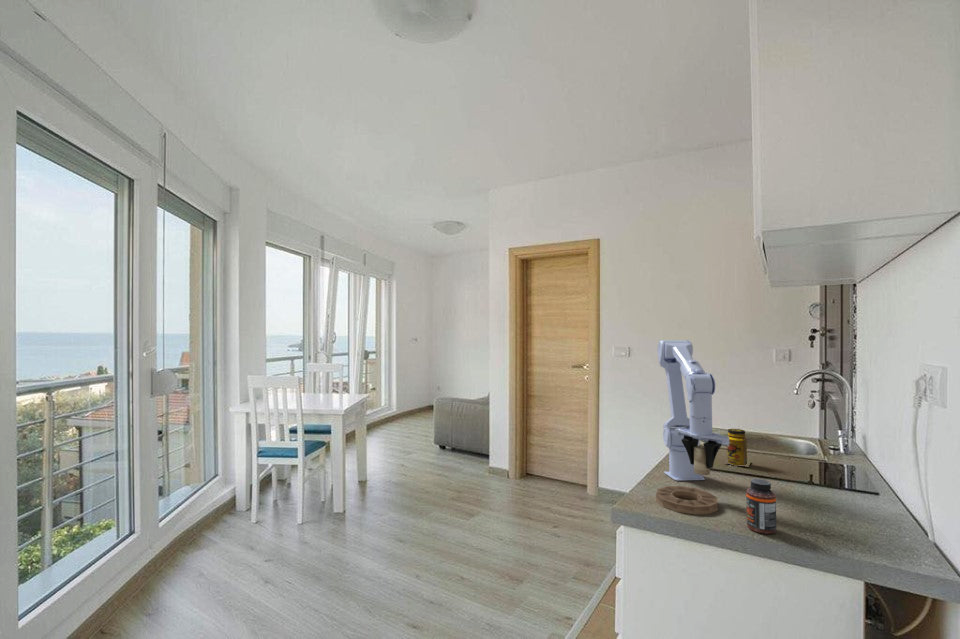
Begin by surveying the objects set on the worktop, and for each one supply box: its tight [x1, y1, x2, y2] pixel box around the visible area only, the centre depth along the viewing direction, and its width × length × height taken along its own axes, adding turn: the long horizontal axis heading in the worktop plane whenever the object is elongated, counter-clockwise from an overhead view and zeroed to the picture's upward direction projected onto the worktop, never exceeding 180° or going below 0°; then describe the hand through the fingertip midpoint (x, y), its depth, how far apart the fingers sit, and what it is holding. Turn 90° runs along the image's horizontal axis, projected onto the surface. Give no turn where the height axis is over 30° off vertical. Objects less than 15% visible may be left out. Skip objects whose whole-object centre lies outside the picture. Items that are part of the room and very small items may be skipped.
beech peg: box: [694, 445, 711, 476], centre depth 126 cm, size 4×4×7 cm
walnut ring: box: [655, 485, 719, 515], centre depth 122 cm, size 15×15×2 cm
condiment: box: [726, 428, 748, 465], centre depth 158 cm, size 7×8×12 cm
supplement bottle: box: [745, 478, 777, 535], centre depth 106 cm, size 6×6×11 cm
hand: (701, 465), depth 126 cm, fingers closed on beech peg, 4 cm apart
